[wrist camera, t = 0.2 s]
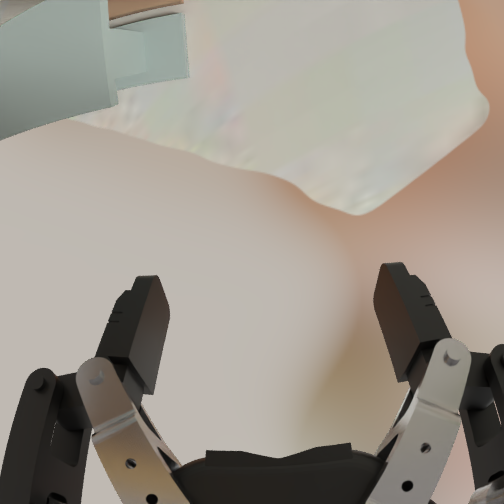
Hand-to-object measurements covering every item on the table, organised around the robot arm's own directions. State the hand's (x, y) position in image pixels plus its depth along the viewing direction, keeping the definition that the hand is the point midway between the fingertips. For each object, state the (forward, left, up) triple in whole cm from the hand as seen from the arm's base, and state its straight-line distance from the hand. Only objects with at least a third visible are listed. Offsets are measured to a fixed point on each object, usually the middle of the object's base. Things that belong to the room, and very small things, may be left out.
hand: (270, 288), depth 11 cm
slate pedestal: (-10, -15, -29) cm, 34 cm away
